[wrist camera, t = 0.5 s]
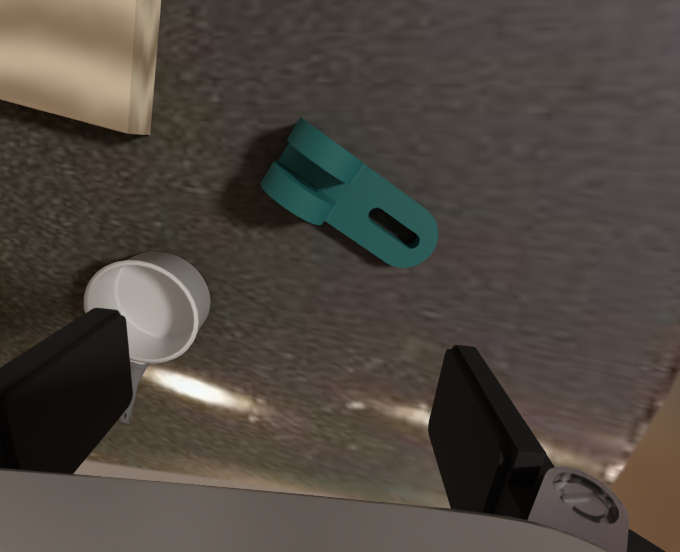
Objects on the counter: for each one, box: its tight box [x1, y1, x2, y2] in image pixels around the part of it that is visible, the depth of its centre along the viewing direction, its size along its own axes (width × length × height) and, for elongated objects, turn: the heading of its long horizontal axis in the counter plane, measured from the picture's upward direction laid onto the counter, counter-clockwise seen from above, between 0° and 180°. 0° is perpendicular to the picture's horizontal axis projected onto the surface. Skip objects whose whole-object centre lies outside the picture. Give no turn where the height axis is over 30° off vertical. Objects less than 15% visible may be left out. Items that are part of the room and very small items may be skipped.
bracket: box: [260, 117, 438, 268], centre depth 35 cm, size 18×7×8 cm, turn 55°
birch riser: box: [0, 0, 161, 135], centre depth 31 cm, size 14×14×4 cm
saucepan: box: [84, 251, 210, 424], centre depth 41 cm, size 12×20×6 cm, turn 161°
